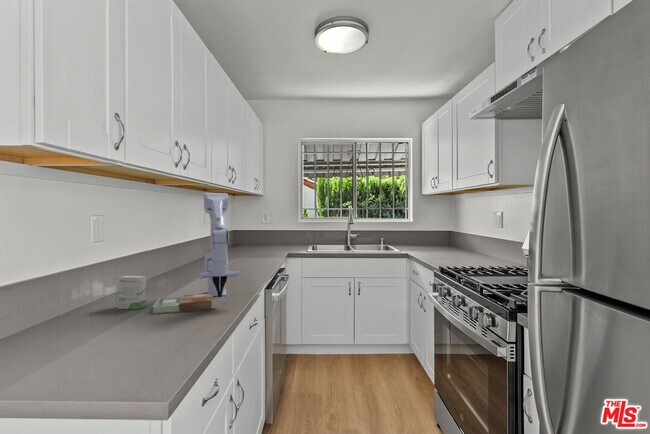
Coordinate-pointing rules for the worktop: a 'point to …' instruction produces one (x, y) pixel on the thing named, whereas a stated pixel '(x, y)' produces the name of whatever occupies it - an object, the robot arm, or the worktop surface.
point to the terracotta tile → (200, 297)
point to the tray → (166, 309)
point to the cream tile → (169, 302)
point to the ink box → (131, 292)
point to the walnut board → (195, 303)
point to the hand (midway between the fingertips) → (219, 296)
